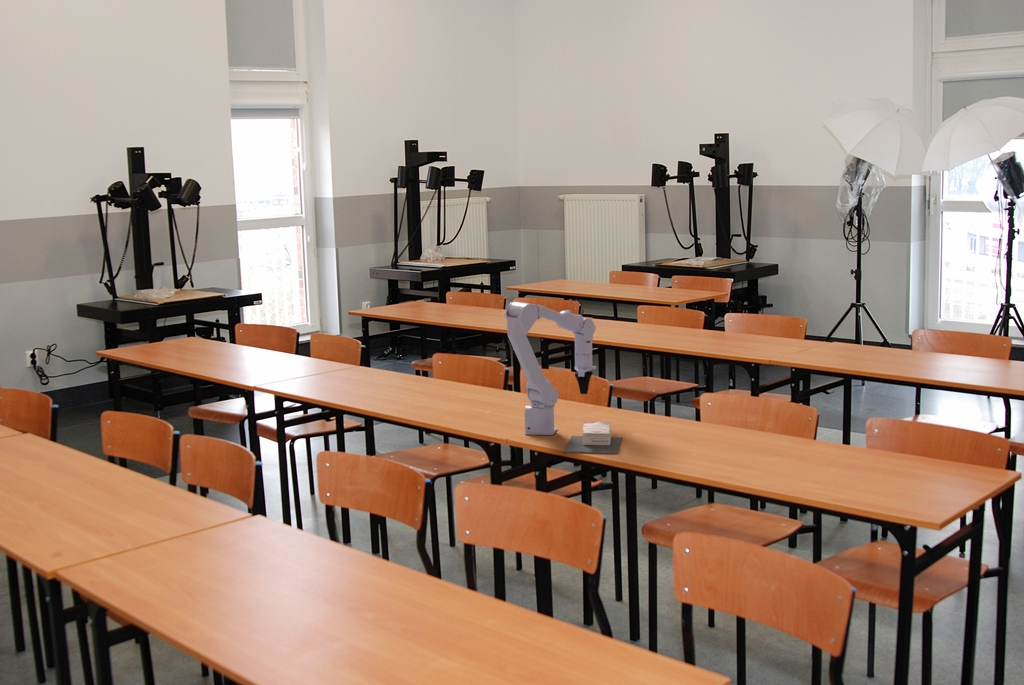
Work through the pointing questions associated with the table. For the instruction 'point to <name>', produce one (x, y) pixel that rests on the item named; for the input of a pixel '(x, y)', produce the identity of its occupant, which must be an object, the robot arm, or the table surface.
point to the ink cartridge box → (596, 433)
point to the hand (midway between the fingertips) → (583, 393)
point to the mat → (592, 446)
